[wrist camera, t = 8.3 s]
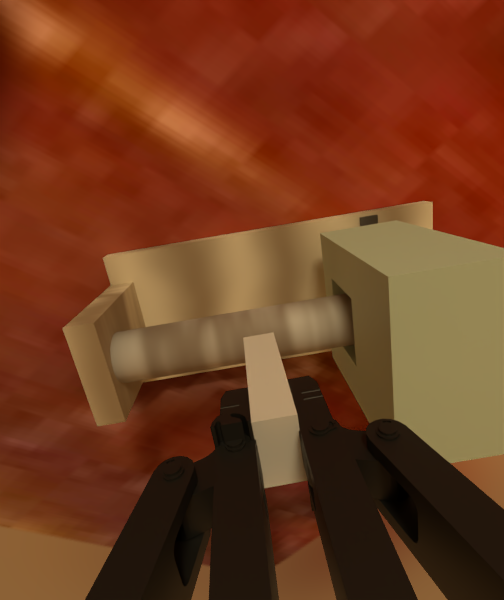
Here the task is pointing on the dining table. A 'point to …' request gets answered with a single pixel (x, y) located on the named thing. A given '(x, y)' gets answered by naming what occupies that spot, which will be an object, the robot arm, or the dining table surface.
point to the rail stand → (213, 306)
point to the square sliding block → (423, 332)
